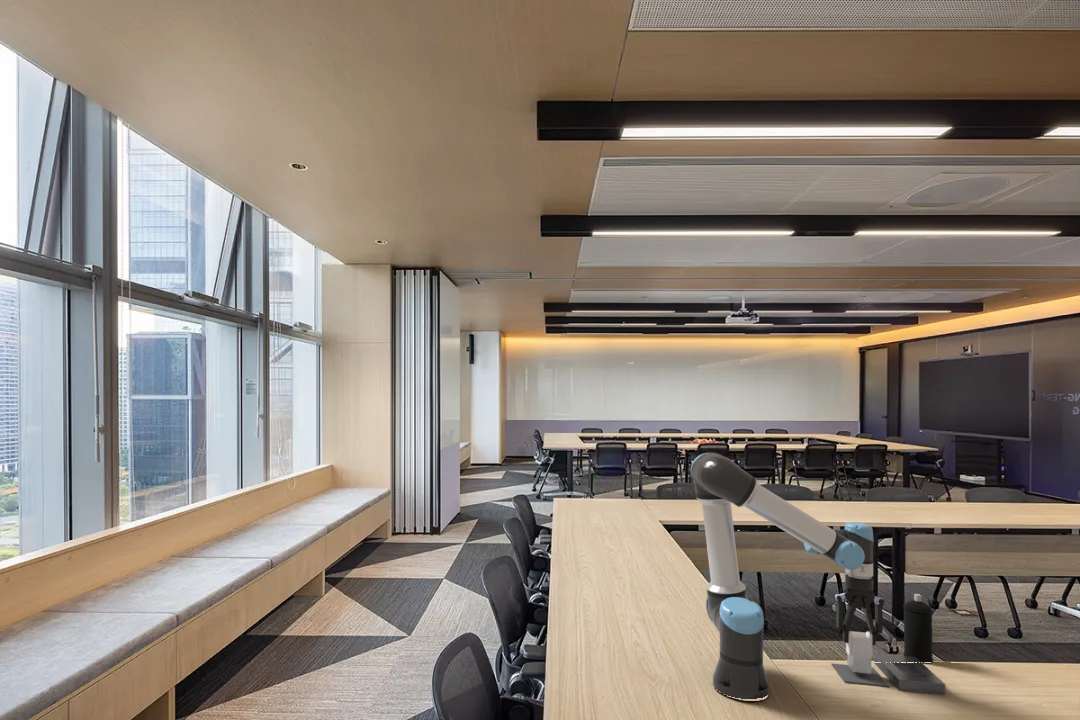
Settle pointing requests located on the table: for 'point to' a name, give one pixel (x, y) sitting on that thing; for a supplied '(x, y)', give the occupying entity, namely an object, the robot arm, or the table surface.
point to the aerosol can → (918, 630)
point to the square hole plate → (909, 674)
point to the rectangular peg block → (860, 653)
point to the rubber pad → (859, 676)
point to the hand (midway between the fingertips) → (859, 654)
